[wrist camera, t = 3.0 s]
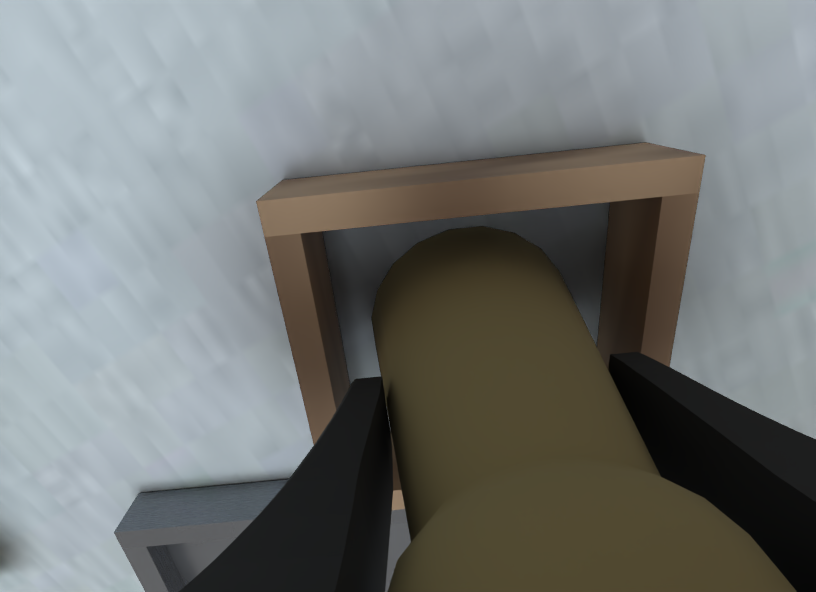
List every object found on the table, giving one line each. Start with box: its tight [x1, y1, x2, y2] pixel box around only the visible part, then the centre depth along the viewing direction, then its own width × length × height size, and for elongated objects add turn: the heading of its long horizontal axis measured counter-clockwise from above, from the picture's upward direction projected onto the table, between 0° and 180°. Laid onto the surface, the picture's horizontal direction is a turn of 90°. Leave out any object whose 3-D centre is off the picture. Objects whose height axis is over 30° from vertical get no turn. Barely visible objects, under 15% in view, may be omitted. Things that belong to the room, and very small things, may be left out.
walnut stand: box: [256, 143, 706, 510], centre depth 13 cm, size 10×10×2 cm
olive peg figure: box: [372, 226, 797, 592], centre depth 9 cm, size 6×6×11 cm
